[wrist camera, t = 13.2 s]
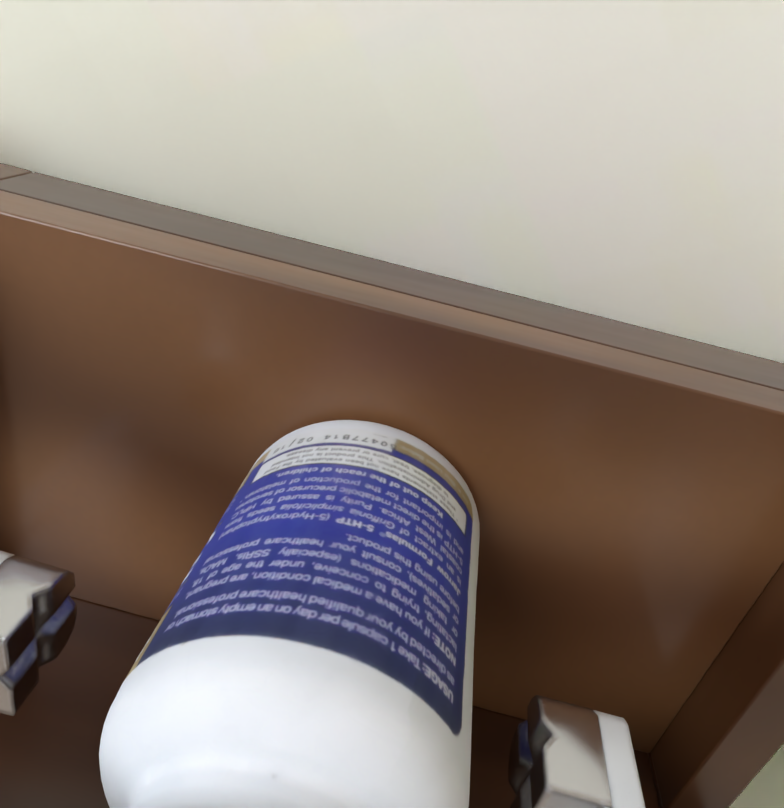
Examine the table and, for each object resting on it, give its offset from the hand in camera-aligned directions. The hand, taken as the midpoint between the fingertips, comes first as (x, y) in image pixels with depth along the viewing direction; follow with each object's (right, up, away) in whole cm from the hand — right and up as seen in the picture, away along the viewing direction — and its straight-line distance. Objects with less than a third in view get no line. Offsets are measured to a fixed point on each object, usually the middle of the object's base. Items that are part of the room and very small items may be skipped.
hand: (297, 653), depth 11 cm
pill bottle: (+1, +2, +3) cm, 4 cm away
